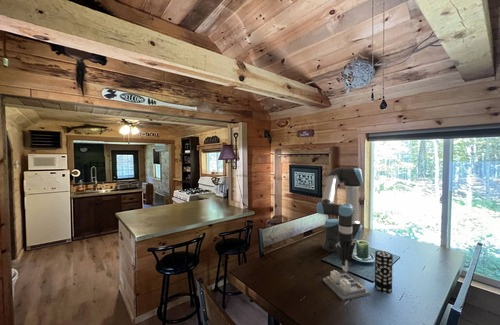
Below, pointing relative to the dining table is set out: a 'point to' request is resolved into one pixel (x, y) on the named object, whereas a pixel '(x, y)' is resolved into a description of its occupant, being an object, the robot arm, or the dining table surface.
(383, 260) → the spotted tube
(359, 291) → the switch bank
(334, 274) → the tab
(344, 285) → the tab
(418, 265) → the dining table surface
